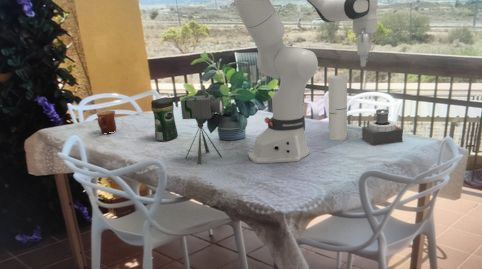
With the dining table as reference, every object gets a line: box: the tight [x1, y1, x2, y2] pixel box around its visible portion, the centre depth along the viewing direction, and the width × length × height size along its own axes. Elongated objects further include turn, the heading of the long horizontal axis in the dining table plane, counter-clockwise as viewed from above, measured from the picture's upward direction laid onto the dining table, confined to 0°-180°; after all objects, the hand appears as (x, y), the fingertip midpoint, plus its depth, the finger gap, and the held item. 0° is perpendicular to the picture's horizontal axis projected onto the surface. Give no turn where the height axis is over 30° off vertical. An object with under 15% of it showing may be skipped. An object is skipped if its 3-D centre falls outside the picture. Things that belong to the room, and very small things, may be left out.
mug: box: [96, 110, 117, 134], centre depth 196 cm, size 12×9×10 cm
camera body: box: [361, 119, 404, 146], centre depth 157 cm, size 12×10×7 cm
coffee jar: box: [150, 97, 179, 142], centre depth 179 cm, size 10×8×19 cm
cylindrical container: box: [327, 74, 348, 141], centre depth 162 cm, size 7×7×25 cm
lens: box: [375, 108, 390, 125], centre depth 156 cm, size 5×5×7 cm
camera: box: [180, 91, 225, 165], centre depth 149 cm, size 16×16×25 cm
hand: (364, 64), depth 157 cm, fingers open, 8 cm apart
